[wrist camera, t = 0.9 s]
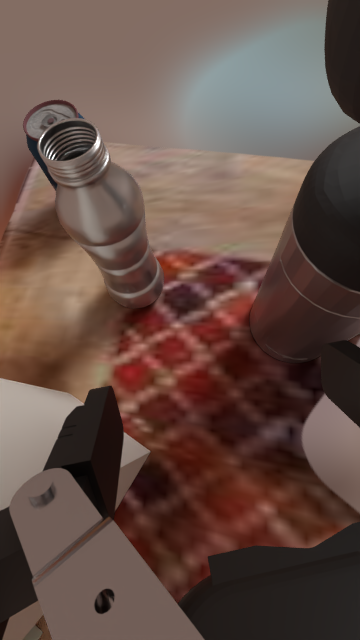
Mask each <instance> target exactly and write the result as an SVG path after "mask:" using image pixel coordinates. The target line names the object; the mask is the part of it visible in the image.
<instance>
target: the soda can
mask: <svg viewBox="0 0 360 640" xmlns="http://www.w3.org/2000/svg"><path fill="white" fill-rule="evenodd" d="M70 118H81V119H84V118H83V117H82V116H81V115H80V114H79V113H78V112H77V110H76V108H75V107H74V105H72V104H71V103H69V102H67V101H63V100H51V101H47V102H44V103H41V104H39V105H37V106H36V107H34V108H33V109H32V110H31V111H30V112H29V113H28V114H27V115H26V117H25V119H24V123H23V128H24V131H25V133H26V136H27V144H28V148H29V150H30V151H31V153H32V155H33V156H34V158H35V159H36V161H37V162H38V164H39V165H40V167H41V169H42V170H43V172H44V173H45V175H46V176H47V178H48V180H49V181H50V183H51V184H52V186H53V187H54V189H55V191H56V189H57V185H58V184H57V183H56V182H55V181H54V180H53V178H52V177H51V175H50V173H49V171H48V168H47V166H46V164H45V163H44V161H43V159H42V158H41V156H40V154H39V152H38V149H37V144H38V140H39V138H40V136H41V134H42V133H43V132H44V131H45V130H46V129H47V128H48V127H50V126H51V125H53V124H55V123H57V122H59V121H62V120H65V119H70Z"/></svg>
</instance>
